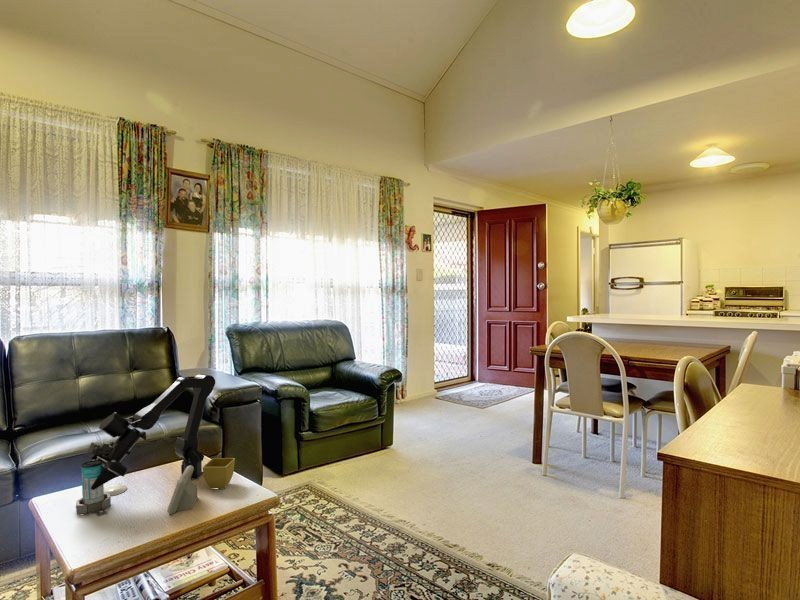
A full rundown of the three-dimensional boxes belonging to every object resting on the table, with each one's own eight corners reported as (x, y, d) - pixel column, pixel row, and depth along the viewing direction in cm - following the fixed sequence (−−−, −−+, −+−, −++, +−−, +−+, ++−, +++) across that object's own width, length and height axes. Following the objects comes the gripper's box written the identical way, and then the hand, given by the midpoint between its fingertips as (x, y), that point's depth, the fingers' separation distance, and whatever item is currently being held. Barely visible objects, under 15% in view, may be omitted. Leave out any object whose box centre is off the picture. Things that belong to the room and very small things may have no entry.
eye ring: (124, 502, 160) (124, 493, 160) (102, 516, 151) (101, 507, 150) (86, 500, 163) (85, 491, 162) (61, 513, 153) (61, 504, 153)
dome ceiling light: (132, 486, 174) (132, 484, 174) (114, 497, 165) (114, 495, 165) (110, 485, 175) (110, 483, 175) (91, 495, 166) (91, 493, 166)
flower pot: (226, 491, 168) (226, 466, 168) (202, 491, 168) (201, 466, 168) (236, 481, 177) (235, 457, 176) (212, 481, 177) (212, 458, 177)
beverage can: (100, 502, 161) (99, 458, 160) (107, 507, 157) (105, 462, 157) (80, 508, 156) (78, 463, 156) (86, 514, 152) (84, 468, 152)
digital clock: (179, 494, 166) (179, 464, 166) (205, 493, 167) (205, 463, 166) (157, 516, 150) (156, 483, 150) (185, 515, 150) (185, 482, 150)
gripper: (94, 427, 165) (57, 468, 157) (115, 437, 153) (77, 482, 145) (119, 444, 171) (85, 484, 163) (142, 454, 160) (106, 498, 151)
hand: (88, 486), depth 155 cm, fingers closed on beverage can, 6 cm apart
